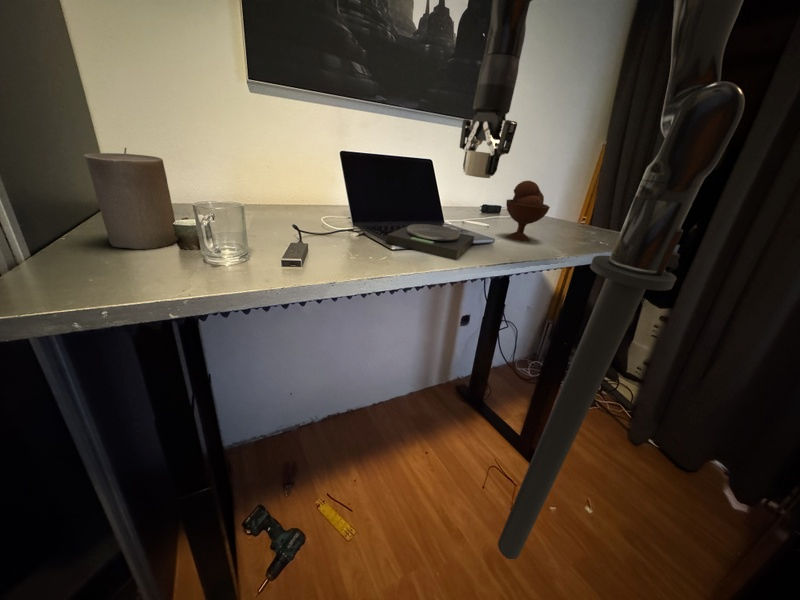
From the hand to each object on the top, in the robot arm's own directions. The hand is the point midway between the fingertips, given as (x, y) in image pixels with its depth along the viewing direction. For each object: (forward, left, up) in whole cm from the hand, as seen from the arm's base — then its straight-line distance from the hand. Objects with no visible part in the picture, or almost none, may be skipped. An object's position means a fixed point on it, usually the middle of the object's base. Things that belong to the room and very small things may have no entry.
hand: (478, 172), depth 73 cm
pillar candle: (+46, +46, -16) cm, 67 cm away
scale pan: (+6, +8, -14) cm, 17 cm away
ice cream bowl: (-11, -16, -16) cm, 25 cm away
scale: (+6, +8, -16) cm, 19 cm away
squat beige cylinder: (0, 0, -1) cm, 1 cm away
